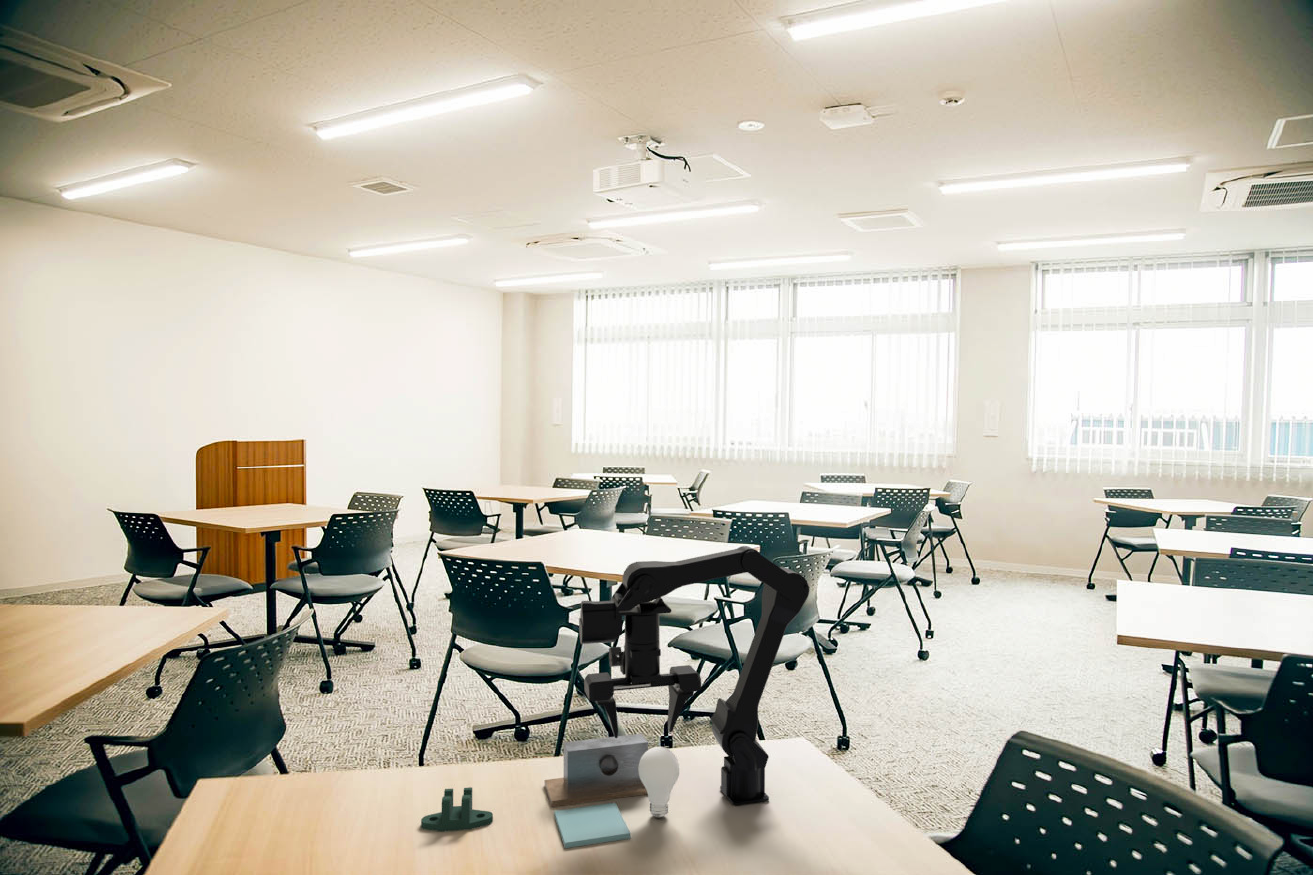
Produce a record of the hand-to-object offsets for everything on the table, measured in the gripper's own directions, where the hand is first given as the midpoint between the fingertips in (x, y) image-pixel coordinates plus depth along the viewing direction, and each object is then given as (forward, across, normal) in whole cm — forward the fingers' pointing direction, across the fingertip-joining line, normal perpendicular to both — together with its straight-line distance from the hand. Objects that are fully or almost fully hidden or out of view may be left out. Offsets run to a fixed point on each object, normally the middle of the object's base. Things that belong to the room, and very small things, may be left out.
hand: (643, 734), depth 127 cm
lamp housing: (+12, +5, -7) cm, 14 cm away
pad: (+12, +10, +5) cm, 16 cm away
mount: (+12, +30, -1) cm, 32 cm away
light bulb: (+12, -1, +5) cm, 13 cm away
